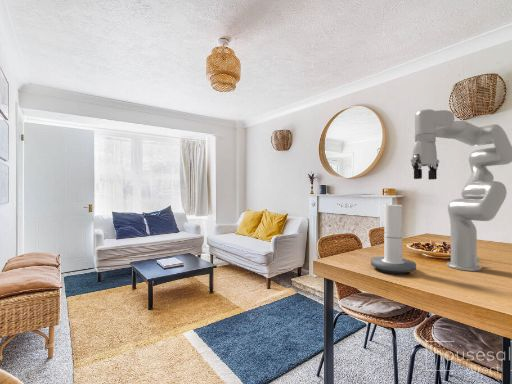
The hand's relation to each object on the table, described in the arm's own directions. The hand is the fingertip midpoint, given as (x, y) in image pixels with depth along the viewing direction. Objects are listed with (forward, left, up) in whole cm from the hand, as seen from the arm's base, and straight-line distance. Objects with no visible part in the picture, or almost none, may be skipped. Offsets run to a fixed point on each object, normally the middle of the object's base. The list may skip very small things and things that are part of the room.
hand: (425, 179), depth 116 cm
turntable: (+9, -9, -38) cm, 41 cm away
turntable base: (+9, -9, -40) cm, 42 cm away
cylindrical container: (+9, -9, -37) cm, 39 cm away
